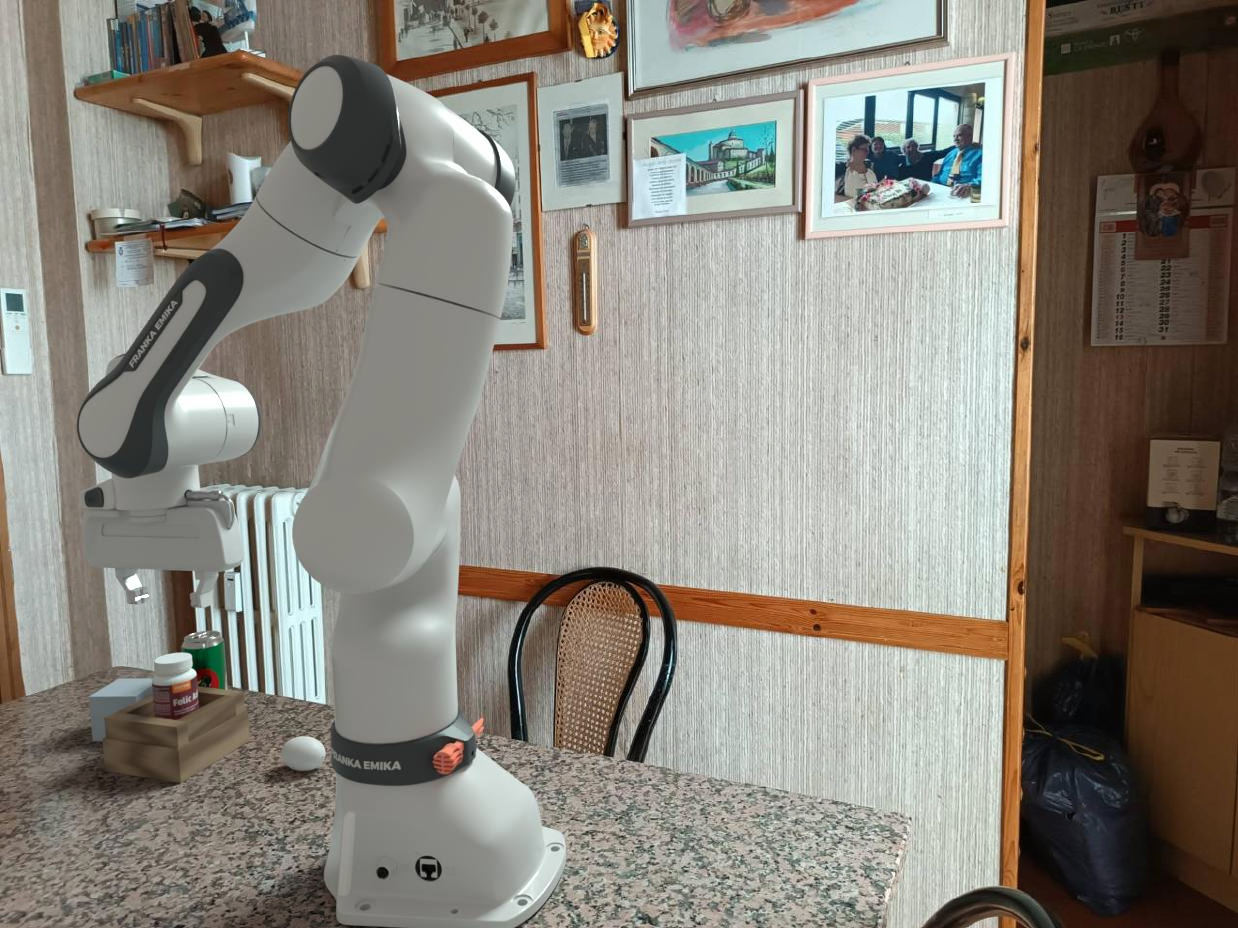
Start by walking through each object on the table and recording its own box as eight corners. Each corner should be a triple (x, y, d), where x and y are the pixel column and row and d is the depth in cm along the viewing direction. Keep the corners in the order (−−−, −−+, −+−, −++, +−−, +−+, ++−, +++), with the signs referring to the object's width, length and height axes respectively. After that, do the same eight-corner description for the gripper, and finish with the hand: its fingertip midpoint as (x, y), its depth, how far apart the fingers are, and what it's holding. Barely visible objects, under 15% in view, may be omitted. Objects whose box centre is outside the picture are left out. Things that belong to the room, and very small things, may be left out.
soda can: (237, 719, 108) (231, 633, 106) (201, 733, 103) (194, 644, 102) (215, 711, 110) (209, 627, 109) (179, 725, 106) (172, 637, 105)
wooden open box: (250, 740, 101) (246, 690, 101) (181, 782, 91) (176, 728, 90) (179, 730, 104) (176, 682, 104) (105, 770, 94) (100, 717, 93)
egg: (314, 780, 91) (312, 748, 91) (271, 772, 93) (269, 741, 93) (336, 764, 95) (334, 734, 94) (294, 757, 97) (293, 727, 96)
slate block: (166, 720, 108) (163, 678, 107) (139, 741, 102) (135, 696, 101) (122, 721, 108) (118, 678, 107) (92, 741, 102) (88, 696, 101)
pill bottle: (179, 734, 94) (174, 666, 93) (145, 730, 95) (140, 663, 94) (209, 717, 99) (204, 652, 98) (176, 714, 100) (171, 649, 99)
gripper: (250, 486, 94) (261, 600, 95) (113, 486, 99) (125, 594, 101) (210, 494, 88) (221, 616, 89) (66, 494, 93) (79, 608, 95)
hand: (169, 604), depth 95 cm, fingers open, 8 cm apart
